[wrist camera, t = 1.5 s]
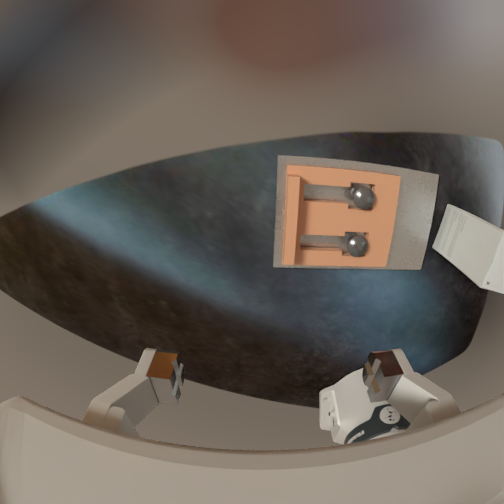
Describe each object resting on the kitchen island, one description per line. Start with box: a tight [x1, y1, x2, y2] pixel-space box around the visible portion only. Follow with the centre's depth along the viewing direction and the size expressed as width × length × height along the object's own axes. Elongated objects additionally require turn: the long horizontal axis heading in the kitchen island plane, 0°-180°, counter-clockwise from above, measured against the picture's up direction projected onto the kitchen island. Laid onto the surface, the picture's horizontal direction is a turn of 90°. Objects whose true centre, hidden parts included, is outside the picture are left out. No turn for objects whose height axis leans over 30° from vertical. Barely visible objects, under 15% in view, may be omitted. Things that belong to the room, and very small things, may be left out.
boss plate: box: [273, 155, 439, 270], centre depth 32 cm, size 14×22×3 cm, turn 89°
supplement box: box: [432, 204, 504, 294], centre depth 28 cm, size 7×7×13 cm
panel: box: [282, 165, 401, 267], centre depth 31 cm, size 12×14×3 cm
